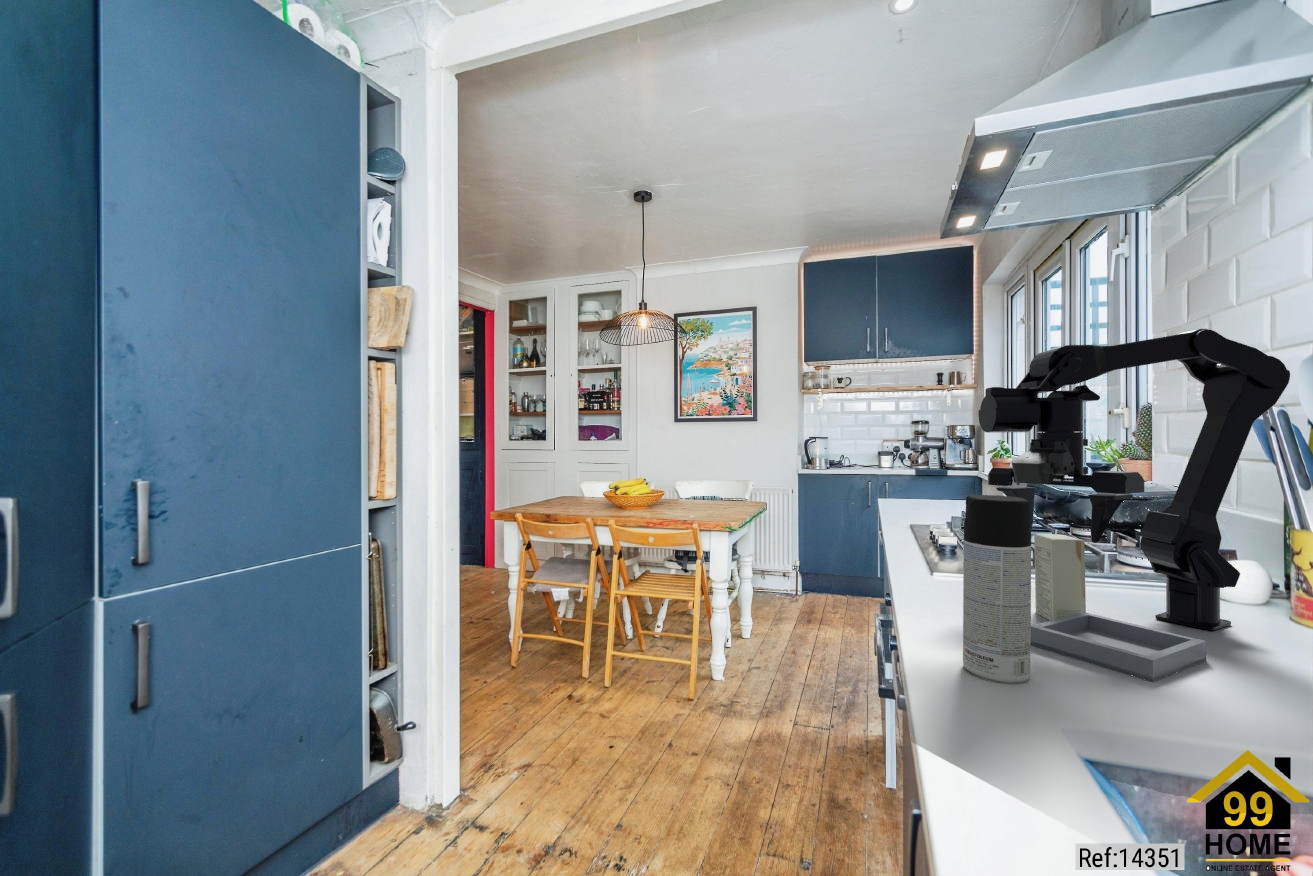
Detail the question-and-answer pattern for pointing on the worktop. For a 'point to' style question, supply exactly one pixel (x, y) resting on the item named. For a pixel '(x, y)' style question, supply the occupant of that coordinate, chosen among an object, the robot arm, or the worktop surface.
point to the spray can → (997, 588)
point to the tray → (1119, 645)
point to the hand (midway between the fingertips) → (1059, 537)
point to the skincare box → (1059, 576)
